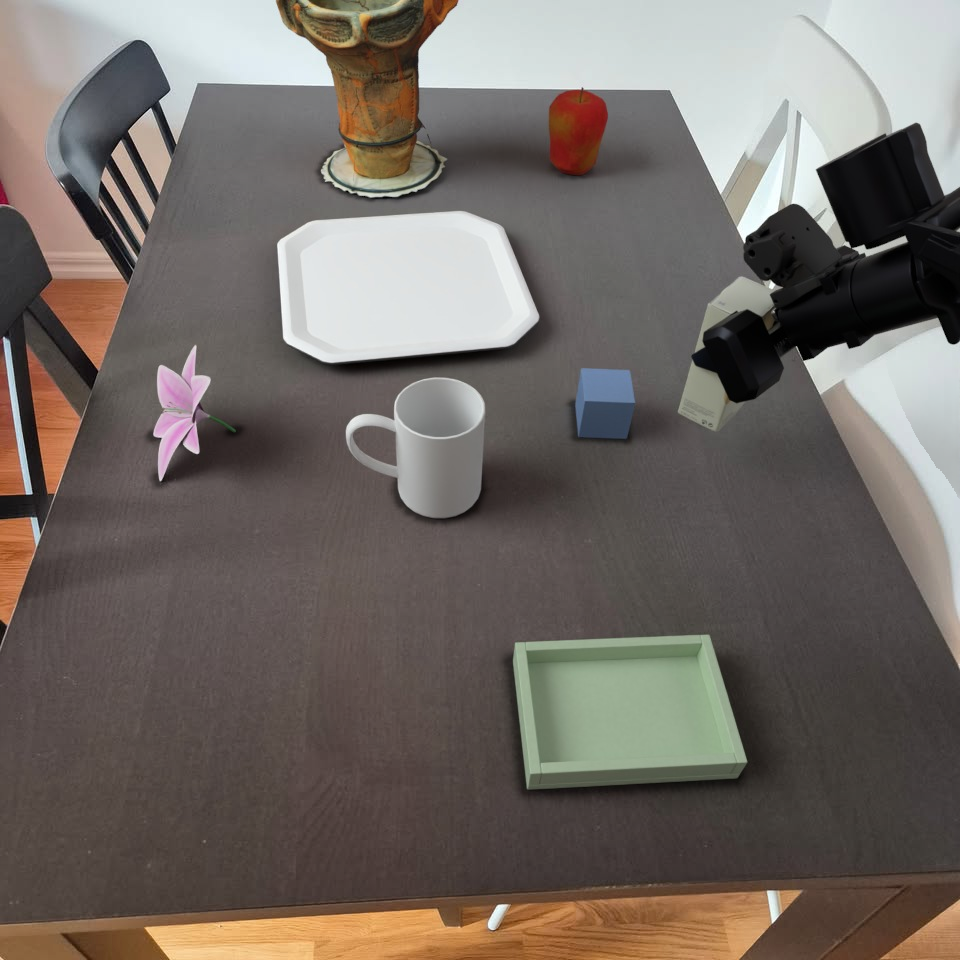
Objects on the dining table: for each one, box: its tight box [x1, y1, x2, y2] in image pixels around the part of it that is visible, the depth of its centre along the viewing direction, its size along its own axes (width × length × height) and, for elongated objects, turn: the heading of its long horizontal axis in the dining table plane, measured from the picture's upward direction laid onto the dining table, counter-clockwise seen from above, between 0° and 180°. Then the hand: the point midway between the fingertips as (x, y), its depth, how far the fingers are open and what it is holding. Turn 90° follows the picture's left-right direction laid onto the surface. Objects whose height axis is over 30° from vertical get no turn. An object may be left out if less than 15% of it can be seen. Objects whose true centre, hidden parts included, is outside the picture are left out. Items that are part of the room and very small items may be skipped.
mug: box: [345, 377, 486, 519], centre depth 75 cm, size 12×8×10 cm, turn 99°
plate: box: [276, 210, 541, 366], centre depth 100 cm, size 29×29×2 cm
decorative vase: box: [275, 0, 459, 199], centre depth 111 cm, size 21×23×28 cm
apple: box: [548, 87, 609, 176], centre depth 119 cm, size 9×8×12 cm
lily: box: [152, 344, 237, 482], centre depth 80 cm, size 12×12×10 cm
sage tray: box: [512, 634, 748, 791], centre depth 63 cm, size 16×11×3 cm
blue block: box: [574, 367, 636, 440], centre depth 85 cm, size 5×5×5 cm
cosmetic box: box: [677, 275, 776, 433], centre depth 74 cm, size 6×4×12 cm
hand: (716, 344), depth 75 cm, fingers closed on cosmetic box, 6 cm apart
